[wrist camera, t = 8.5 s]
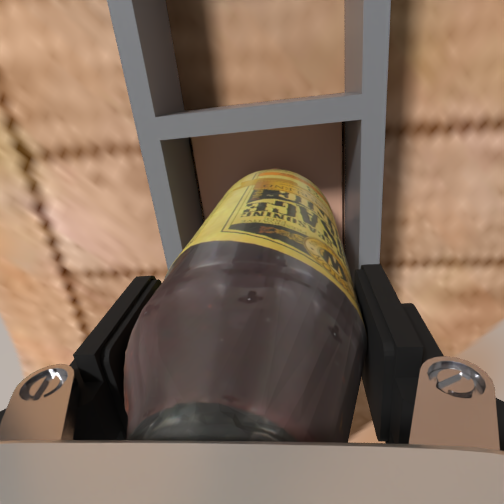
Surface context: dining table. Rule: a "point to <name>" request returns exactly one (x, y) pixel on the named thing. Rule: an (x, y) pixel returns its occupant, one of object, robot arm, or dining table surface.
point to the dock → (259, 130)
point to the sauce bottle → (251, 326)
